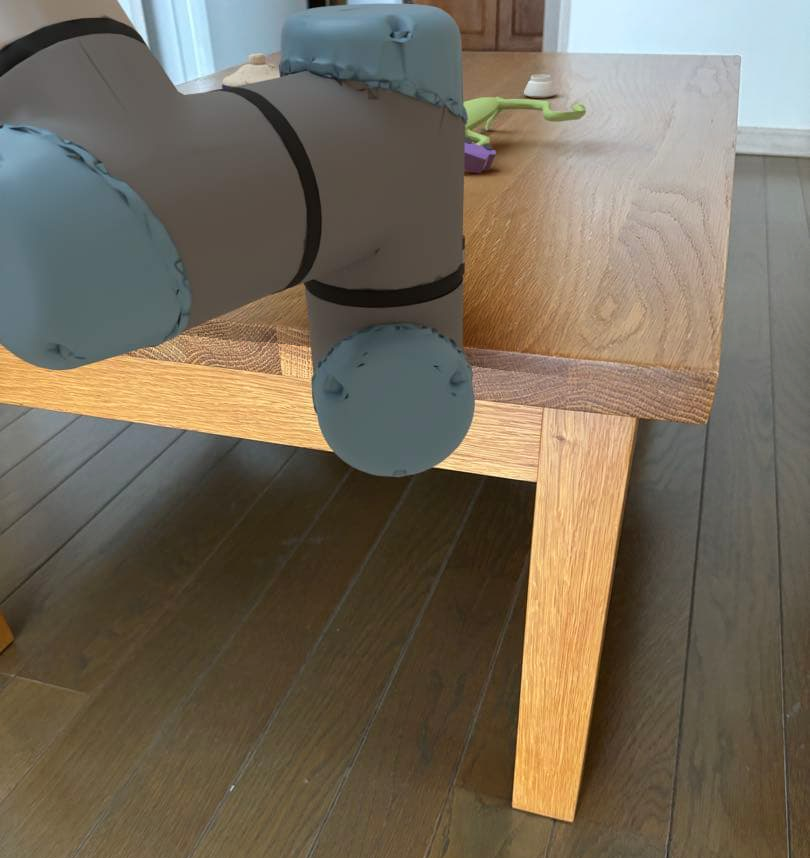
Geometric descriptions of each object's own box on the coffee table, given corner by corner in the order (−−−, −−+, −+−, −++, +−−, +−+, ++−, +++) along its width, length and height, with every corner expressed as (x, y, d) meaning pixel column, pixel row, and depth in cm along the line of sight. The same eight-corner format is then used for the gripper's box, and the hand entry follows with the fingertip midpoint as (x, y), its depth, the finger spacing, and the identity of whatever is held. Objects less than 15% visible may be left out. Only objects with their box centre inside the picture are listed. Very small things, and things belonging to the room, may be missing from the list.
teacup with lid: (286, 146, 117) (276, 46, 110) (315, 159, 110) (307, 54, 104) (199, 159, 112) (183, 56, 105) (225, 174, 106) (209, 64, 99)
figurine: (604, 146, 112) (609, 97, 109) (449, 185, 98) (449, 131, 95) (500, 126, 124) (502, 82, 120) (349, 159, 110) (346, 109, 107)
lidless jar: (554, 99, 139) (555, 93, 143) (555, 78, 138) (557, 73, 142) (522, 99, 140) (524, 93, 144) (523, 78, 138) (525, 73, 142)
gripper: (240, 367, 54) (254, 248, 73) (510, 349, 55) (454, 236, 74) (222, 244, 50) (242, 151, 69) (515, 226, 51) (455, 140, 70)
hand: (352, 195), depth 71 cm, fingers closed on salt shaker, 4 cm apart
